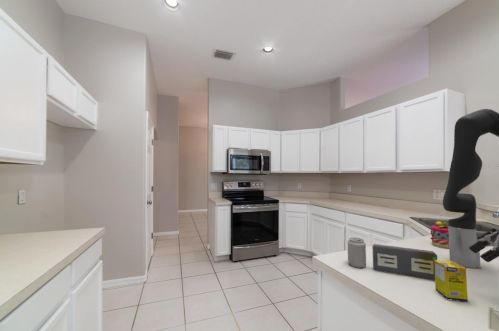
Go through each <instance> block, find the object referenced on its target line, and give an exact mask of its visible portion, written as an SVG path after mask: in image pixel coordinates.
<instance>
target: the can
mask: <svg viewBox="0 0 499 331" xmlns="http://www.w3.org/2000/svg"><path fill="white" fill-rule="evenodd" d="M366 244H367V243H366V242H365V240H364V239H363V238H360V237H351V236H350V237H349V238H348V240H347V262H348V264H349V265H350V266H352V267H354V268H358V269H362V268H364V267H366V266H367V251H366V250H367V247H366Z"/></svg>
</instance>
